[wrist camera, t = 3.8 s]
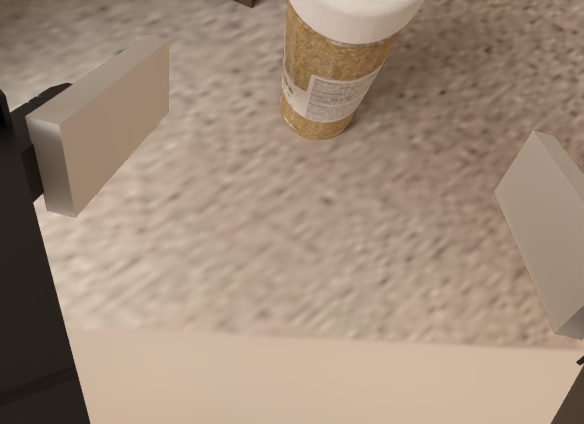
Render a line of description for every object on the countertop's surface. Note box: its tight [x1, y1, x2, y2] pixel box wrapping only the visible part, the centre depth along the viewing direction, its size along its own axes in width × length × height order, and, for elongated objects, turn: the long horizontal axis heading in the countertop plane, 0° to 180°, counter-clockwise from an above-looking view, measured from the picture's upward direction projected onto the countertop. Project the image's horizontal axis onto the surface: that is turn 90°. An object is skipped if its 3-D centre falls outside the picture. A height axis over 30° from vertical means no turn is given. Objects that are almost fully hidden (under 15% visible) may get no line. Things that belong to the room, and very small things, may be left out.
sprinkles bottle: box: [280, 0, 424, 140], centre depth 18 cm, size 5×5×13 cm
